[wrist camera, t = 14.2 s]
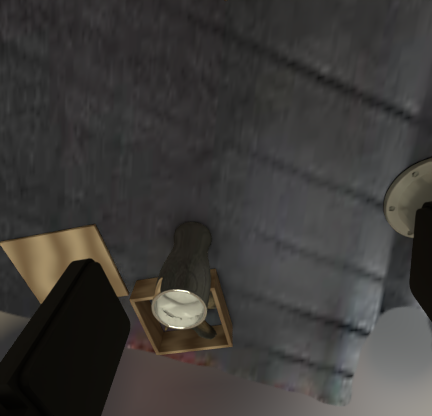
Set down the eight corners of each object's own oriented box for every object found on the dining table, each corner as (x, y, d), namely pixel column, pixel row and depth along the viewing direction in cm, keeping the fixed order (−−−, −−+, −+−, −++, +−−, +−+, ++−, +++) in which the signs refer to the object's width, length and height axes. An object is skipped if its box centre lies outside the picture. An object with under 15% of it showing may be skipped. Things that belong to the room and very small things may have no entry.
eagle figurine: (171, 323, 58) (218, 333, 56) (157, 336, 51) (211, 347, 49) (177, 282, 58) (224, 291, 57) (165, 289, 51) (218, 299, 50)
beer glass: (176, 257, 51) (158, 333, 38) (166, 221, 48) (142, 291, 35) (218, 252, 51) (213, 328, 38) (210, 216, 47) (202, 285, 34)
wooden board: (95, 224, 49) (94, 225, 48) (129, 293, 56) (128, 295, 55) (1, 241, 51) (-1, 243, 51) (44, 305, 58) (43, 307, 58)
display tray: (215, 268, 52) (214, 287, 48) (232, 325, 59) (232, 346, 55) (136, 280, 54) (129, 299, 50) (161, 334, 61) (156, 355, 57)
